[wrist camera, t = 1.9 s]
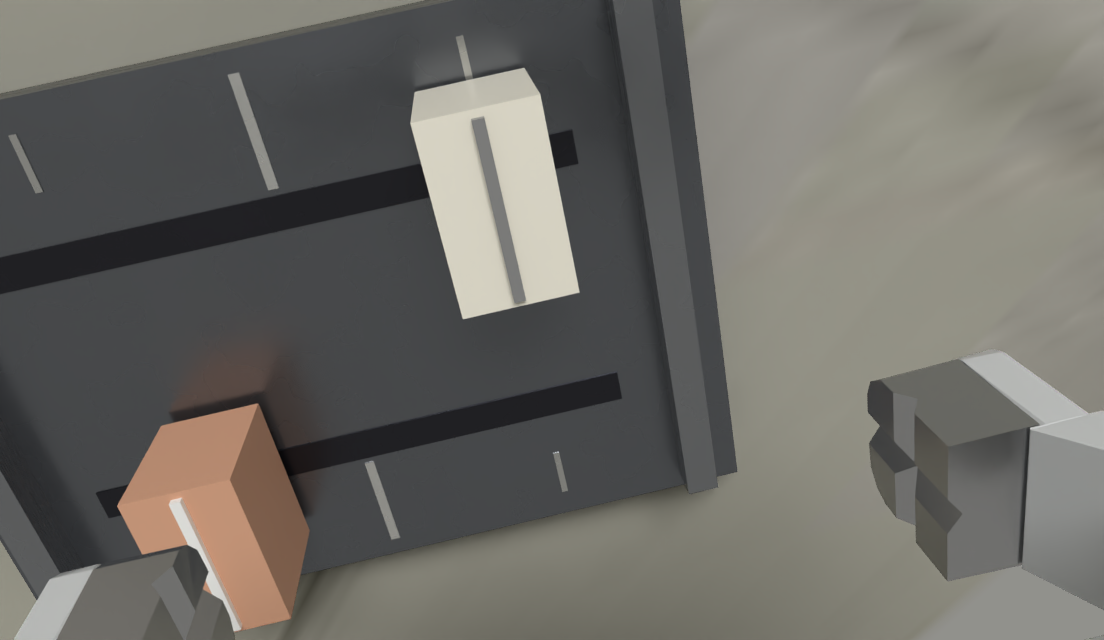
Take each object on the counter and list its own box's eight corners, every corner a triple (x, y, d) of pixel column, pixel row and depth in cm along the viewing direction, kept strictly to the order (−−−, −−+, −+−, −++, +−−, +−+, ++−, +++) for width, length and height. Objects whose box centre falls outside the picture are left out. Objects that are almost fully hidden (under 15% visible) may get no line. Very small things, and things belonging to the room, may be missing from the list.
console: (656, -50, 24) (685, -47, 22) (720, 440, 32) (748, 491, 29) (-185, 134, 24) (-271, 163, 21) (78, 591, 31) (41, 659, 28)
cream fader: (524, 67, 23) (541, 96, 19) (559, 239, 25) (580, 295, 21) (414, 92, 23) (410, 125, 19) (459, 262, 25) (463, 322, 21)
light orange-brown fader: (258, 403, 26) (228, 484, 22) (309, 530, 28) (289, 623, 25) (161, 425, 26) (114, 510, 22) (220, 551, 28) (186, 648, 24)
